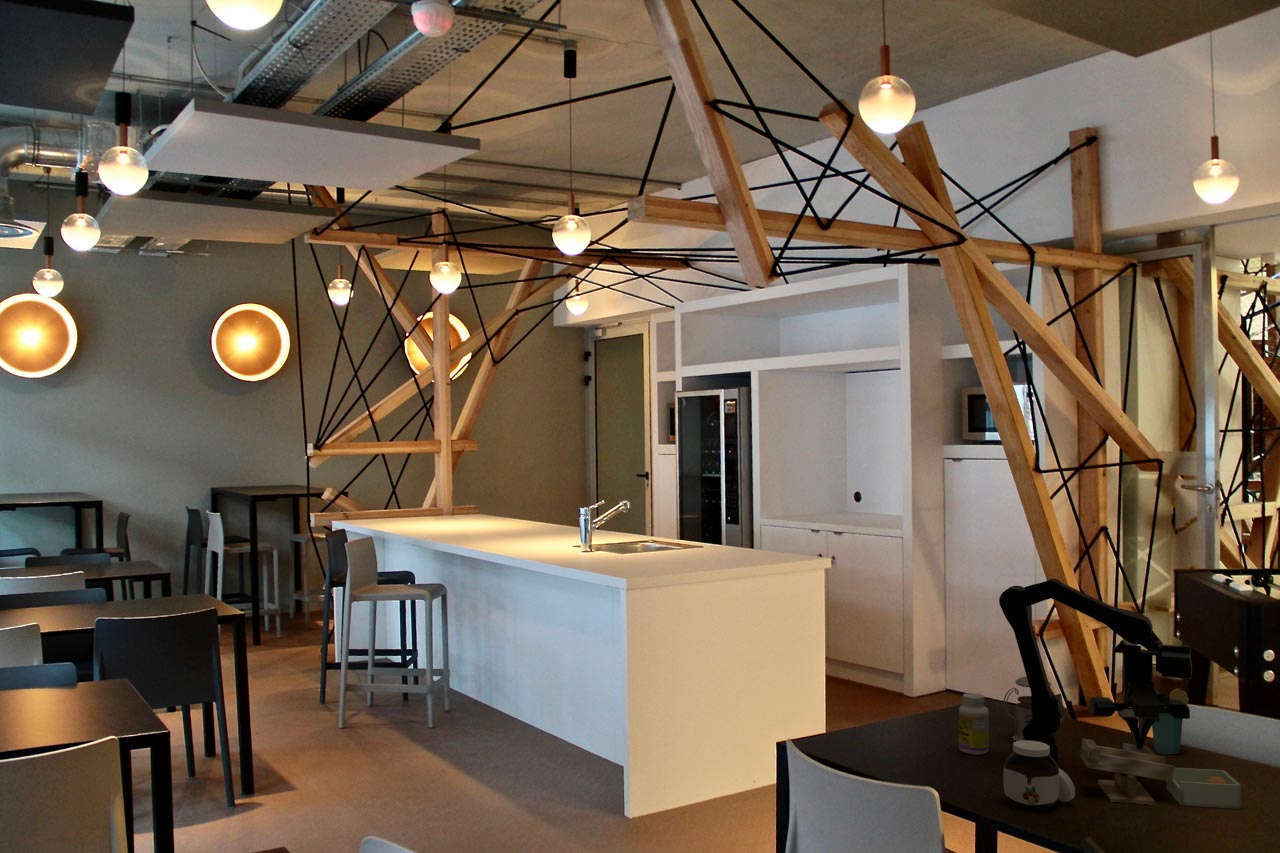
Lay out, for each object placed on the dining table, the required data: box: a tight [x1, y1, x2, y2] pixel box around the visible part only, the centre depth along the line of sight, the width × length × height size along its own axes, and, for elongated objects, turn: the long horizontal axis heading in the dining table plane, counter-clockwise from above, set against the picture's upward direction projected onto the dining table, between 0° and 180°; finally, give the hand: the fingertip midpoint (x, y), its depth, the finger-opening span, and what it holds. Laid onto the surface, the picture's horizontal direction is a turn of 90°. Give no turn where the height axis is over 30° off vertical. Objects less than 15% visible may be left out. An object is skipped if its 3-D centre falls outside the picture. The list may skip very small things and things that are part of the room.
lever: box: [1079, 738, 1175, 782], centre depth 225 cm, size 16×17×4 cm
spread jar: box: [1003, 740, 1076, 811], centre depth 215 cm, size 12×11×12 cm
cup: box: [1151, 688, 1190, 755], centre depth 250 cm, size 14×8×15 cm, turn 122°
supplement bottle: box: [958, 692, 990, 756], centre depth 250 cm, size 7×7×13 cm
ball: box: [1206, 777, 1227, 784], centre depth 217 cm, size 4×4×4 cm
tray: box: [1165, 767, 1243, 810], centre depth 218 cm, size 11×10×4 cm
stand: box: [1097, 772, 1156, 806], centre depth 220 cm, size 8×12×5 cm, turn 169°
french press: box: [1003, 635, 1052, 742], centre depth 259 cm, size 10×12×25 cm
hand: (1139, 748), depth 230 cm, fingers closed, pressing on lever
